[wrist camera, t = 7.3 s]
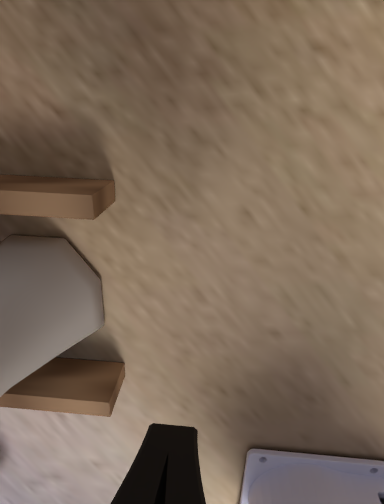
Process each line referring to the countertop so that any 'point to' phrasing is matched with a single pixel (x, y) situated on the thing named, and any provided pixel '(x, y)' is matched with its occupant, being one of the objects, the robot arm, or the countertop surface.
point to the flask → (43, 303)
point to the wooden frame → (58, 369)
